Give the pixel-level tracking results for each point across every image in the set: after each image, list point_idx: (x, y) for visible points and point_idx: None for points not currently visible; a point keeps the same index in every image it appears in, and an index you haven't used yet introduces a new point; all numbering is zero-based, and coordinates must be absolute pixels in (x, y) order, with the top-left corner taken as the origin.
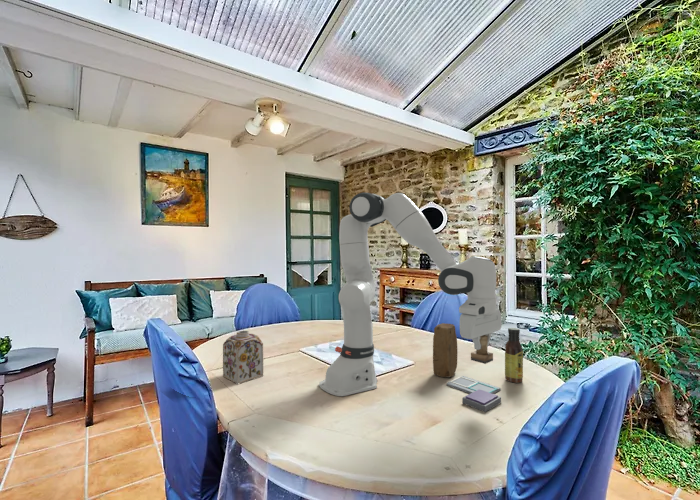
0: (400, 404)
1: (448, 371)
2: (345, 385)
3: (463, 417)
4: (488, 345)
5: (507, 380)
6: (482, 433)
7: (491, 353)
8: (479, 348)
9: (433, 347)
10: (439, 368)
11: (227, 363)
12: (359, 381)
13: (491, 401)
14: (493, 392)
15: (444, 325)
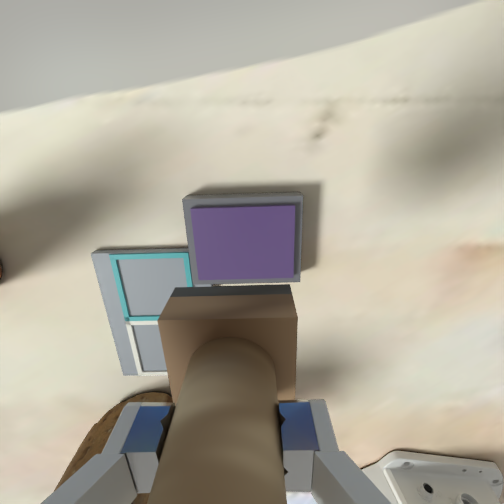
0: (436, 367)
1: None
2: (483, 491)
3: (388, 216)
4: (138, 407)
5: (1, 274)
6: (453, 113)
7: (176, 324)
8: (323, 407)
9: None
10: None
11: None
12: (441, 489)
13: (247, 202)
14: (144, 250)
15: None
